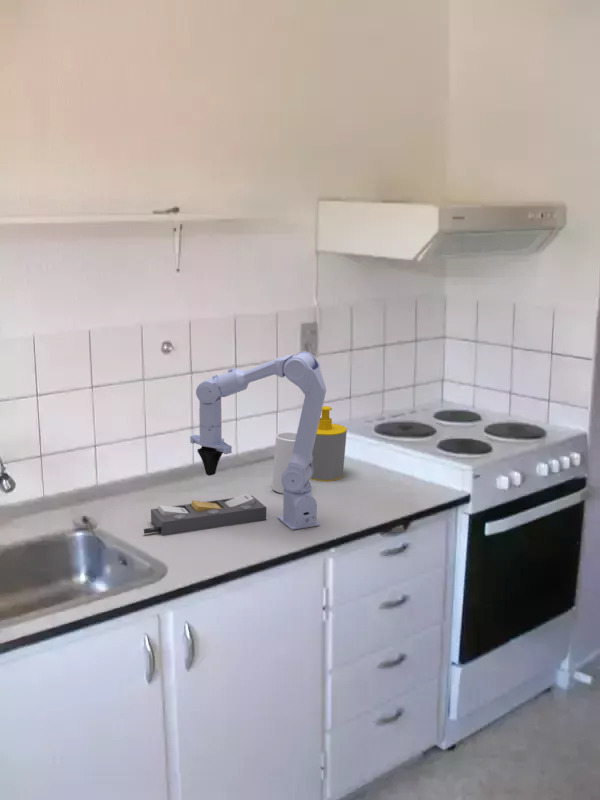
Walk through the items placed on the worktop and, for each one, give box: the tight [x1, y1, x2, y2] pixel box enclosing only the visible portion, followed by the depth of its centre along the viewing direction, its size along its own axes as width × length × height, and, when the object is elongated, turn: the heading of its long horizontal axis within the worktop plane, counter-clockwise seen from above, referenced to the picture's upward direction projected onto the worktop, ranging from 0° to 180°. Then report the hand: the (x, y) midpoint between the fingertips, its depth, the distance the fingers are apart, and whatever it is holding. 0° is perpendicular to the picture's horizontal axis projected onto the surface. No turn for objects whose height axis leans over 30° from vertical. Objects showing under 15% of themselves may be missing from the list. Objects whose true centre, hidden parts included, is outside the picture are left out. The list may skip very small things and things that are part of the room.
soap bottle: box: [310, 405, 348, 482], centre depth 269 cm, size 13×13×21 cm
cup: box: [271, 431, 297, 495], centre depth 256 cm, size 8×8×16 cm
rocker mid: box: [190, 500, 221, 512], centre depth 233 cm, size 5×7×2 cm
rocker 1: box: [157, 504, 189, 516], centre depth 230 cm, size 5×7×2 cm
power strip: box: [143, 495, 267, 536], centre depth 231 cm, size 10×32×4 cm, turn 115°
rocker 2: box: [224, 492, 255, 507], centre depth 237 cm, size 5×7×2 cm
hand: (210, 474), depth 237 cm, fingers closed
